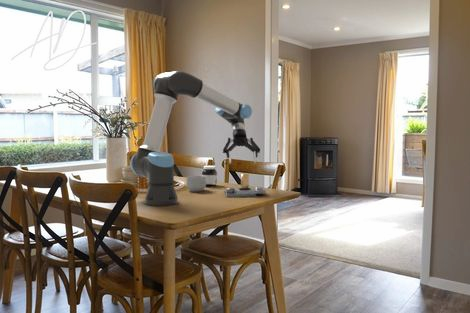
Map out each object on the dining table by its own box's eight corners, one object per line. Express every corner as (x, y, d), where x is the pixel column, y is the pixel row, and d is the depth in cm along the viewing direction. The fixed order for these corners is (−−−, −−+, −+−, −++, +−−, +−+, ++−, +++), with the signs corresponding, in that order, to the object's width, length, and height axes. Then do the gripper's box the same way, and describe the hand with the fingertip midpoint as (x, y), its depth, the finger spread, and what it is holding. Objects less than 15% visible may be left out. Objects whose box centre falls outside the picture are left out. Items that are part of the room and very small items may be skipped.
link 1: (226, 197, 206) (226, 190, 206) (224, 193, 216) (224, 186, 216) (256, 196, 208) (256, 189, 208) (252, 192, 218) (252, 186, 218)
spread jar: (212, 187, 235) (211, 167, 234) (194, 186, 239) (194, 166, 238) (220, 184, 246) (220, 165, 245) (203, 183, 250) (203, 164, 249)
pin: (241, 195, 210) (241, 174, 209) (240, 194, 214) (240, 173, 213) (249, 195, 211) (249, 174, 210) (247, 194, 215) (247, 173, 214)
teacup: (202, 192, 218) (202, 178, 218) (183, 192, 220) (183, 177, 220) (209, 188, 232) (209, 174, 231) (191, 188, 234) (191, 174, 233)
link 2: (236, 196, 207) (236, 189, 207) (233, 193, 217) (233, 186, 217) (265, 196, 209) (265, 189, 209) (261, 192, 219) (261, 186, 219)
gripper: (259, 137, 236) (265, 166, 222) (216, 137, 233) (219, 166, 219) (261, 128, 230) (267, 157, 217) (217, 128, 227) (220, 157, 213)
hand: (243, 162), depth 218 cm, fingers open, 13 cm apart
